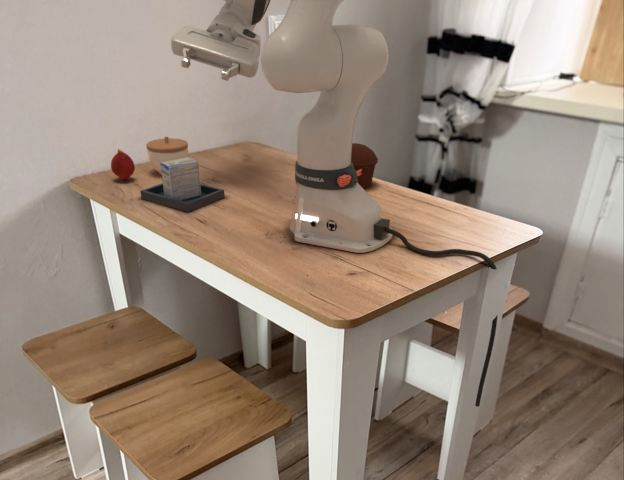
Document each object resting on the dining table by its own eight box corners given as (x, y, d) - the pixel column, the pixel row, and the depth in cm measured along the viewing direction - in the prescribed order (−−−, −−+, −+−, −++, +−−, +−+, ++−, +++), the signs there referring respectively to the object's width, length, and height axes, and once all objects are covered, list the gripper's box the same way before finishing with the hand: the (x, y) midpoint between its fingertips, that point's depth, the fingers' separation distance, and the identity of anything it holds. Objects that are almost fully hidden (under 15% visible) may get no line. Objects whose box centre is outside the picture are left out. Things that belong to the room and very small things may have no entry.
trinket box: (198, 172, 163) (195, 136, 157) (166, 181, 156) (162, 144, 151) (174, 164, 168) (170, 129, 163) (142, 172, 162) (137, 137, 156)
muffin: (385, 185, 155) (388, 146, 150) (355, 194, 149) (357, 154, 143) (352, 175, 162) (354, 137, 157) (323, 183, 156) (324, 144, 151)
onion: (139, 177, 158) (135, 146, 154) (132, 184, 153) (127, 152, 149) (118, 176, 159) (113, 145, 154) (110, 183, 154) (104, 151, 150)
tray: (224, 197, 146) (224, 189, 145) (188, 212, 137) (187, 204, 136) (178, 185, 153) (177, 177, 152) (141, 198, 144) (140, 190, 143)
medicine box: (192, 191, 149) (189, 156, 144) (202, 196, 146) (198, 160, 141) (164, 198, 144) (159, 162, 140) (173, 203, 142) (168, 166, 137)
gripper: (183, 12, 138) (159, 43, 131) (267, 38, 138) (248, 71, 131) (183, 38, 144) (161, 70, 136) (264, 63, 144) (246, 96, 136)
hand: (204, 71), depth 134 cm, fingers open, 8 cm apart
